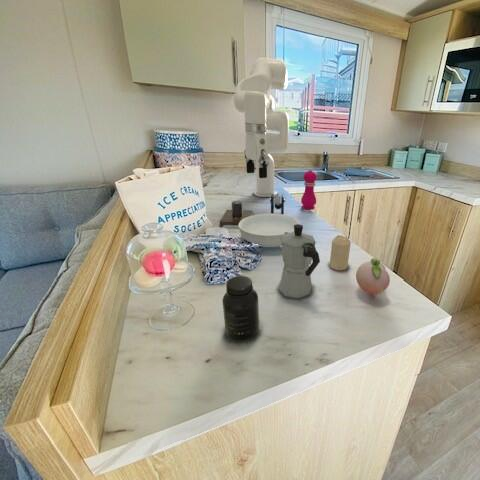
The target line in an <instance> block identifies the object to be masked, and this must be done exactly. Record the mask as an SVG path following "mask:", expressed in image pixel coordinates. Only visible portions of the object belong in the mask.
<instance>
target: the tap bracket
mask: <svg viewBox="0 0 480 480" xmlns="http://www.w3.org/2000/svg"><path fill="white" fill-rule="evenodd" d="M269 202H270V213H272V214H275V206H274V205H275V196H274V194H271V197H269ZM280 203H281V209H280V214H282V215H285V213H284V212H285V203H286V198H285V194H281V196H280Z"/></svg>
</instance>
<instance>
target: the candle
mask: <svg viewBox="0 0 480 480" xmlns="http://www.w3.org/2000/svg"><path fill="white" fill-rule="evenodd" d="M330 248H331V249H330V258H329V267H330V268H331V269H333V270H335V271H344V270H347V268H348V264H349V258H350V252H351V240H350V239H349V238H348V236H343V235H340V234H338V235H336V236H335V237H334V238H332V240H331V247H330Z"/></svg>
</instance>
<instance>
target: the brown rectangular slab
mask: <svg viewBox="0 0 480 480" xmlns="http://www.w3.org/2000/svg"><path fill="white" fill-rule="evenodd" d="M242 213H243V216H242V217H233V216H232V209H226V210H225V212H224V213H223V215H222V217H221V218H220V220H219V228H220V227H222V228H223V227H224V226H238V225H239V222H240V221H241V220H242V219H244V218H246V217H249V216H252V215H254V210H251V209H250V210H249V209H247V210H245V209H242Z"/></svg>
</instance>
